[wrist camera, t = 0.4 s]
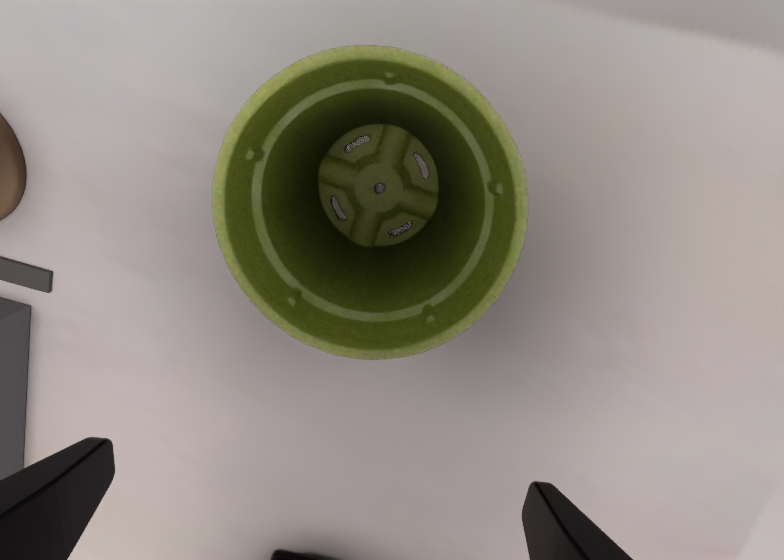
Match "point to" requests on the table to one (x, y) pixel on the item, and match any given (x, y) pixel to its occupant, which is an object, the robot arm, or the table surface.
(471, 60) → the table surface
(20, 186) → the tee
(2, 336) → the grey square tray
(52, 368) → the table surface
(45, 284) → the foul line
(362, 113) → the plant pot
